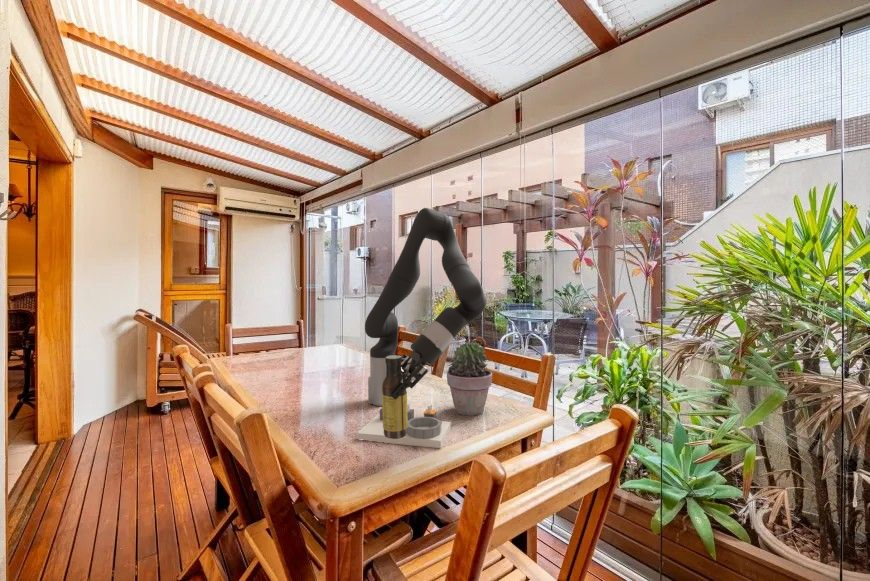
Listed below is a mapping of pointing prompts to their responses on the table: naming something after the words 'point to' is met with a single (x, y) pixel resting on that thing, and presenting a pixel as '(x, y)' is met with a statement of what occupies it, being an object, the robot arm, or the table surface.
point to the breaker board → (407, 440)
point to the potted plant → (469, 378)
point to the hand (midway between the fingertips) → (388, 392)
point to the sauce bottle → (394, 401)
